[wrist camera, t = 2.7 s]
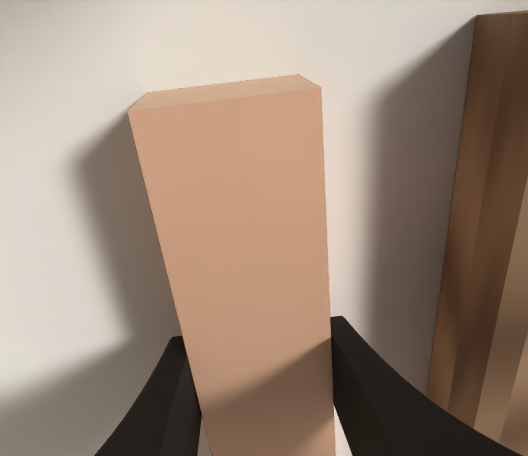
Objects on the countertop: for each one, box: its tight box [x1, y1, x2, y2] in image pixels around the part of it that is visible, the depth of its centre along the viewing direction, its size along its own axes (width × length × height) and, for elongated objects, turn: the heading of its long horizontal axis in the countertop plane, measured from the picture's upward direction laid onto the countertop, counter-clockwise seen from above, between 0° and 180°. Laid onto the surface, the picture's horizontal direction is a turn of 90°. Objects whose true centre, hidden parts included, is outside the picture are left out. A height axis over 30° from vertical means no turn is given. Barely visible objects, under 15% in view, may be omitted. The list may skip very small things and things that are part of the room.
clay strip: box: [127, 74, 336, 456], centre depth 13 cm, size 16×4×3 cm, turn 6°
